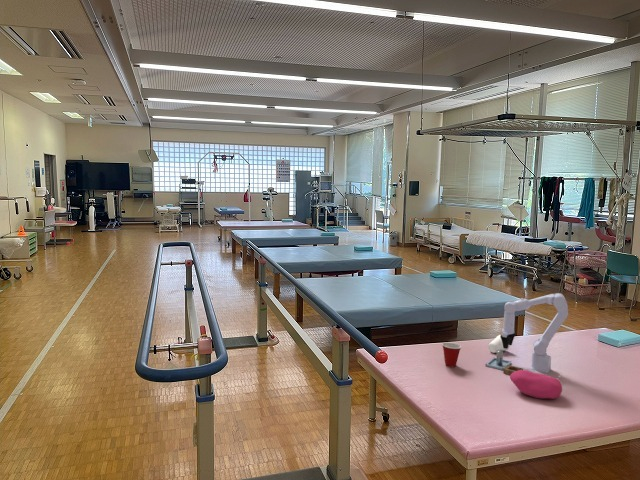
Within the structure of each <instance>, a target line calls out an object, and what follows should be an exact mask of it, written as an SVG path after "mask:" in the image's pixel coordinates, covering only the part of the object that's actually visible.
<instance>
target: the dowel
mask: <svg viewBox="0 0 640 480" xmlns="http://www.w3.org/2000/svg"><path fill="white" fill-rule="evenodd" d="M495 358H496V365H498V366H502V365H503V360H504V351H502V350H497V353H496V357H495Z"/></svg>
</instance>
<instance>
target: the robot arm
mask: <svg viewBox="0 0 640 480" xmlns="http://www.w3.org/2000/svg"><path fill="white" fill-rule="evenodd" d="M542 304H547V305H550V306H552V305H553V306H554V307H555V308H556V312H557V313H556V314H555V316H554V317H553V319H552V320H551V322H550V323H549V325H548V326H547V328H546V329H545V331H544V332H543V334H542V335H541V336H539V338H538V339H536V340H534V342H533V350H532V353H531V365H530V367H528V369H529V370H532V371H537V372H541V373H546V374H548V373H549V372H550V371H551V367H552V356H551V355H549V354H548V353H547V349H548V347H549V344H550V342H551V341H552V339H553V338H554V336H555V335H556V333H557V332H558V330H559V329H560V327H561V326H562V324H563V323H564V322H565V320H566V319H567V318H568V316H569V308H568V302H567V299H566V298H565V296H564V294H562V293H560V292H559V293H558V292H556V293H550V294H547V295H543V296H539V297H535V298H532V299H527V298H524V297H521V298H520V299H518V300H512V301H507V302H506V303H505V304H504V307H503V309H504V311H503V313H504V314H503V325H502V329H500V331H501V332H502V334H500V335H501V336H500V338H501V340H502V343H503V348H505V349H508V346H509V345H510V346H512V345H513V342H514V339H515V337H516V335H517V333H516V332H515V324H516V323H515V322H516V320H515V319H516V316H515V312H520V311H525V310H529V309H530V307H531V306H536V305H542ZM508 350H509V349H508Z"/></svg>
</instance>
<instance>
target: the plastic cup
mask: <svg viewBox="0 0 640 480" xmlns="http://www.w3.org/2000/svg"><path fill="white" fill-rule="evenodd" d="M441 345H442V351H443V358H444V363H445V366H446V367H449V368H454V367H456V366H457V363H458V360H459V359H458V358H459V354H460V351H461V349H462V345H461V344H458V343H455V342H443V343H441Z"/></svg>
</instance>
